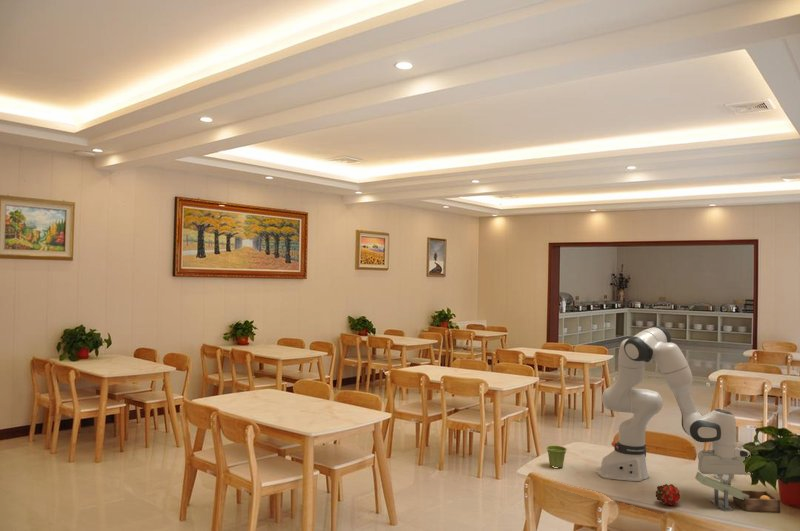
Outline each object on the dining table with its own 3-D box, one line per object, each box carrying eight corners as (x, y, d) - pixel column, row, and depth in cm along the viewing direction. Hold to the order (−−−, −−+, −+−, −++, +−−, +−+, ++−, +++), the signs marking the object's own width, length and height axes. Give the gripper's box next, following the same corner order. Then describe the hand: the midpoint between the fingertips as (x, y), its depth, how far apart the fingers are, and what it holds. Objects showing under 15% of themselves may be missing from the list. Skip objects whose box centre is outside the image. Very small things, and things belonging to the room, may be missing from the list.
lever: (701, 483, 237) (704, 477, 237) (688, 472, 250) (690, 466, 250) (747, 501, 236) (749, 494, 236) (731, 489, 249) (733, 483, 249)
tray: (745, 511, 234) (745, 499, 234) (733, 501, 244) (733, 490, 244) (780, 512, 233) (780, 500, 233) (766, 502, 243) (766, 491, 243)
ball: (761, 505, 236) (764, 495, 236) (755, 501, 240) (759, 492, 240) (771, 509, 236) (775, 499, 236) (765, 505, 240) (769, 496, 240)
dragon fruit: (657, 511, 237) (673, 509, 245) (675, 503, 233) (691, 501, 240) (646, 489, 242) (663, 487, 249) (664, 481, 237) (680, 479, 244)
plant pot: (569, 465, 289) (569, 447, 290) (563, 471, 281) (563, 452, 282) (550, 462, 294) (550, 444, 295) (543, 467, 286) (543, 449, 287)
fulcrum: (721, 510, 234) (721, 491, 235) (709, 500, 245) (709, 482, 245) (733, 510, 234) (733, 491, 234) (721, 500, 244) (721, 482, 245)
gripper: (701, 452, 244) (702, 487, 244) (754, 452, 242) (755, 488, 242) (694, 448, 251) (695, 482, 250) (747, 448, 249) (748, 483, 248)
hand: (725, 485), depth 246 cm, fingers closed
